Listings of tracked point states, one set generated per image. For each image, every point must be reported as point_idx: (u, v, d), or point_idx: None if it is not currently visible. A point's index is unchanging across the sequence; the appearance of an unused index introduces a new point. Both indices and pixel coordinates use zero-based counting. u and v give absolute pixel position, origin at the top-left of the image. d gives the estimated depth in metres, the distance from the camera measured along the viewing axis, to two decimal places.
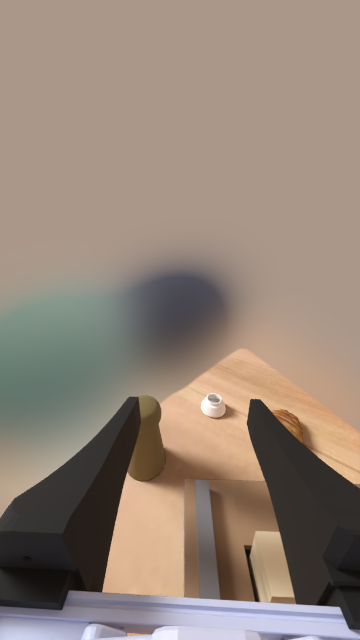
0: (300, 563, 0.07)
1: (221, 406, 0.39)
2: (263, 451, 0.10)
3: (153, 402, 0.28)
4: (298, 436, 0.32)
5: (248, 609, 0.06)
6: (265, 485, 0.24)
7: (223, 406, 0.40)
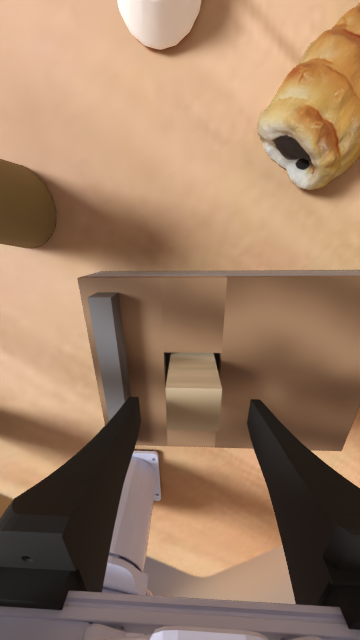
0: (300, 563, 0.07)
1: None
2: (262, 451, 0.10)
3: None
4: None
5: (248, 609, 0.06)
6: (221, 284, 0.13)
7: None
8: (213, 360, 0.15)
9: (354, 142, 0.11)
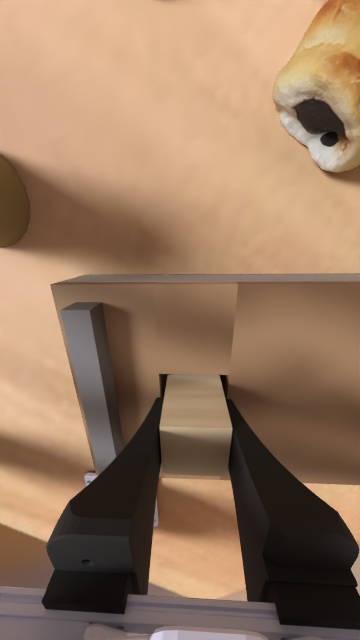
0: (250, 560, 0.07)
1: None
2: None
3: None
4: None
5: (248, 609, 0.06)
6: (230, 292, 0.11)
7: None
8: (219, 384, 0.12)
9: None
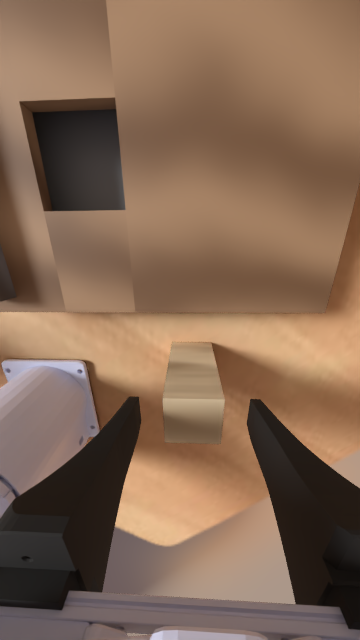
0: (300, 563, 0.07)
1: None
2: (262, 451, 0.10)
3: None
4: None
5: (248, 609, 0.06)
6: None
7: None
8: (215, 366, 0.14)
9: None
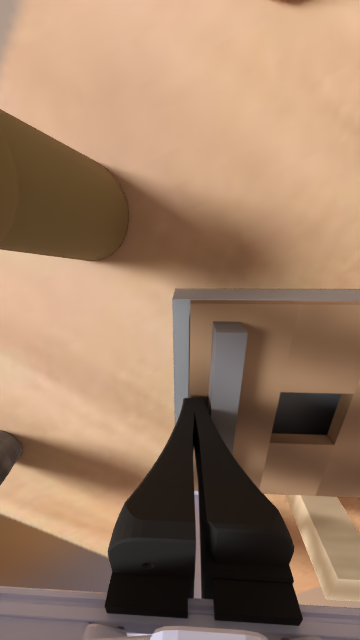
0: (202, 558, 0.07)
1: None
2: (196, 448, 0.11)
3: None
4: None
5: None
6: None
7: None
8: (351, 523, 0.17)
9: None
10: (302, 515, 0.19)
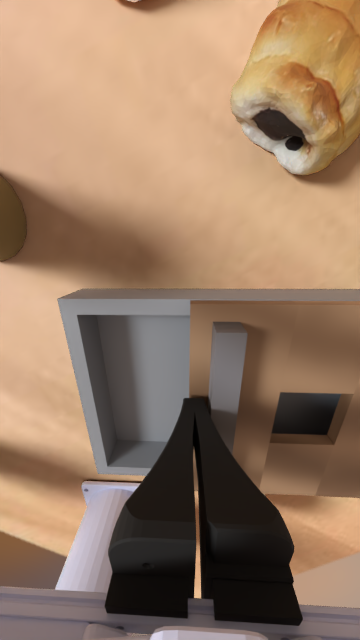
0: (202, 558, 0.07)
1: None
2: (196, 449, 0.11)
3: None
4: None
5: None
6: None
7: None
8: None
9: None
10: None
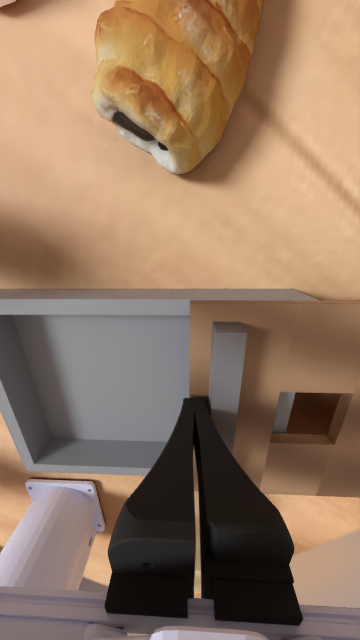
0: (202, 558, 0.07)
1: None
2: (196, 448, 0.11)
3: None
4: (224, 84, 0.09)
5: None
6: None
7: None
8: (197, 516, 0.18)
9: (198, 103, 0.09)
10: None
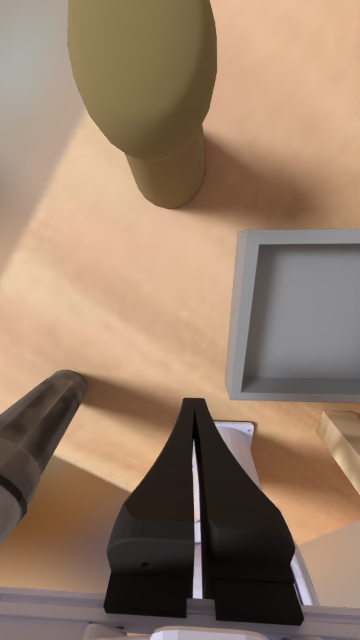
0: (203, 558, 0.07)
1: None
2: (197, 449, 0.11)
3: None
4: None
5: None
6: None
7: None
8: None
9: None
10: (335, 439, 0.22)
